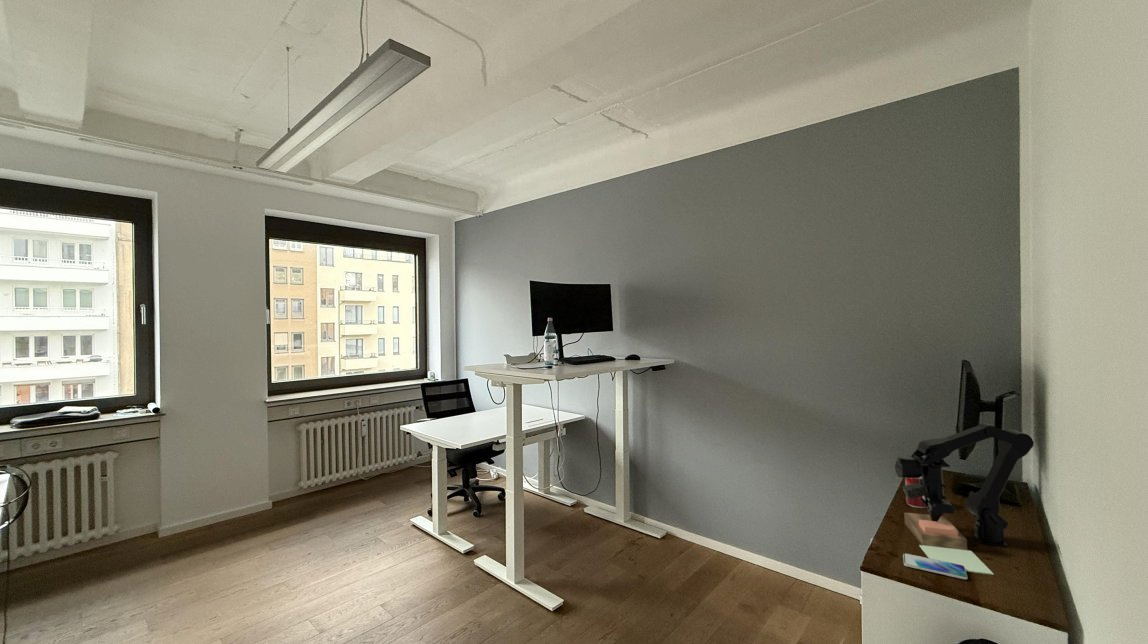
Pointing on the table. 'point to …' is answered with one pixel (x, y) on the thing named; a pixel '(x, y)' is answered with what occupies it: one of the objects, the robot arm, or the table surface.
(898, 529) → the table surface
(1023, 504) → the table surface
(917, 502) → the soda can
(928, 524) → the block
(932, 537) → the tan flat slab
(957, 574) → the smartphone
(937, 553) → the mat
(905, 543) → the table surface
